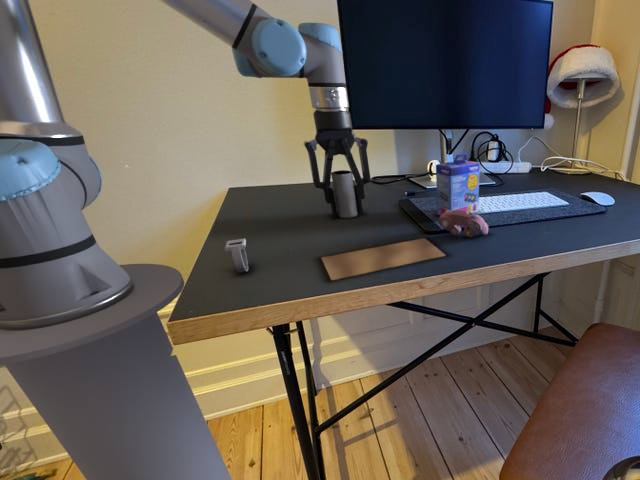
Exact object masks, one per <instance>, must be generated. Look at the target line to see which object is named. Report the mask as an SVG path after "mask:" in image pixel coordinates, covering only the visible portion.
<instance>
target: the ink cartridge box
mask: <svg viewBox="0 0 640 480" xmlns="http://www.w3.org/2000/svg"><path fill="white" fill-rule="evenodd" d="M468 156H469V152H466V153H459V154H456V155H455V157H454V160H453V161H446V162H443V163H438V164H435V178H436V179H435V181H436V212H437V214H436V215H438V216H439V217H440V216H441V215H442V214H443V213H445V212H446V210H450V211H454V210H466V211H468V212H471V213H478V212H479V200H480V199H479V198H480V196H479V195H480V170H481V166H480V165H481V164H480V162H476V161H472V160H467V158H468ZM461 157H463V158H461ZM476 208H477V209H476ZM472 209H473V210H472ZM469 210H470V211H469Z"/></svg>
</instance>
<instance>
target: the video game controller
mask: <svg viewBox="0 0 640 480" xmlns="http://www.w3.org/2000/svg"><path fill="white" fill-rule="evenodd" d="M438 224H439V225H440V226H441V227H442V229H444V230H445V231H448V232H449V233H450V234H451V235H454V236H458V235H460V233H461V232H462V227H464V229H463V235H464V236H465V237H468V238H474V236H475V234H477V233H478V234H479V235H481V236H486V235H488V233H489V225H488V223H487V222H486V221H485V220H484V219H483V217H482V216H481V215H480V214H478V212H475V213H471V212H468V211H466V210H454V211H450V210H446V212H445V213H443V214H442V215H441V216H440V215H439V217H438ZM461 226H462V227H461Z"/></svg>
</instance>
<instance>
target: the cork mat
mask: <svg viewBox="0 0 640 480" xmlns="http://www.w3.org/2000/svg"><path fill="white" fill-rule="evenodd" d="M446 255H447V254H445V253H444V252H443V251H442V250H440V249H439V248H438V247H437V246H435V245H434V244H433V243H431V242H430V241H429V240H427V238H425V237H423V238H418V239H412V240H407V241H402V242H396V243H392V244H386V245H381V246H375V247H370V248H364V249H360V250H359V249H358V250H354V251H348V252H344V253H339V254H334V255H328V256H323V257H320V259H321V261H322V263H323V265H324V268H325V270H326V272H327V274H328V276H329V279H330V281H331V282H333V281H338V280H342V279H349V278H352V277H357V276H361V275H365V274H366V275H367V274H371V273H374V272H379V271H383V270H388V269H393V268H396V267H402V266H407V265H411V264H415V263H419V262H426V261H428V260H429V261H430V260H435V259H438V258H444V257H446Z"/></svg>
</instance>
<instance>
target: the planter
mask: <svg viewBox="0 0 640 480" xmlns="http://www.w3.org/2000/svg"><path fill="white" fill-rule="evenodd" d="M331 181H332V186H333V187H332V188H333V190H334V196H335V202H336V207H337V213H338V218H343V219H347V218H348V219H349V218H354V217H357V216H358V215H359V213H358V211H357V204H356V197H355V190H354V185H355V184H354V176H353V174H352V172H351V170H346V169H343V170H334V171H331Z"/></svg>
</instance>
